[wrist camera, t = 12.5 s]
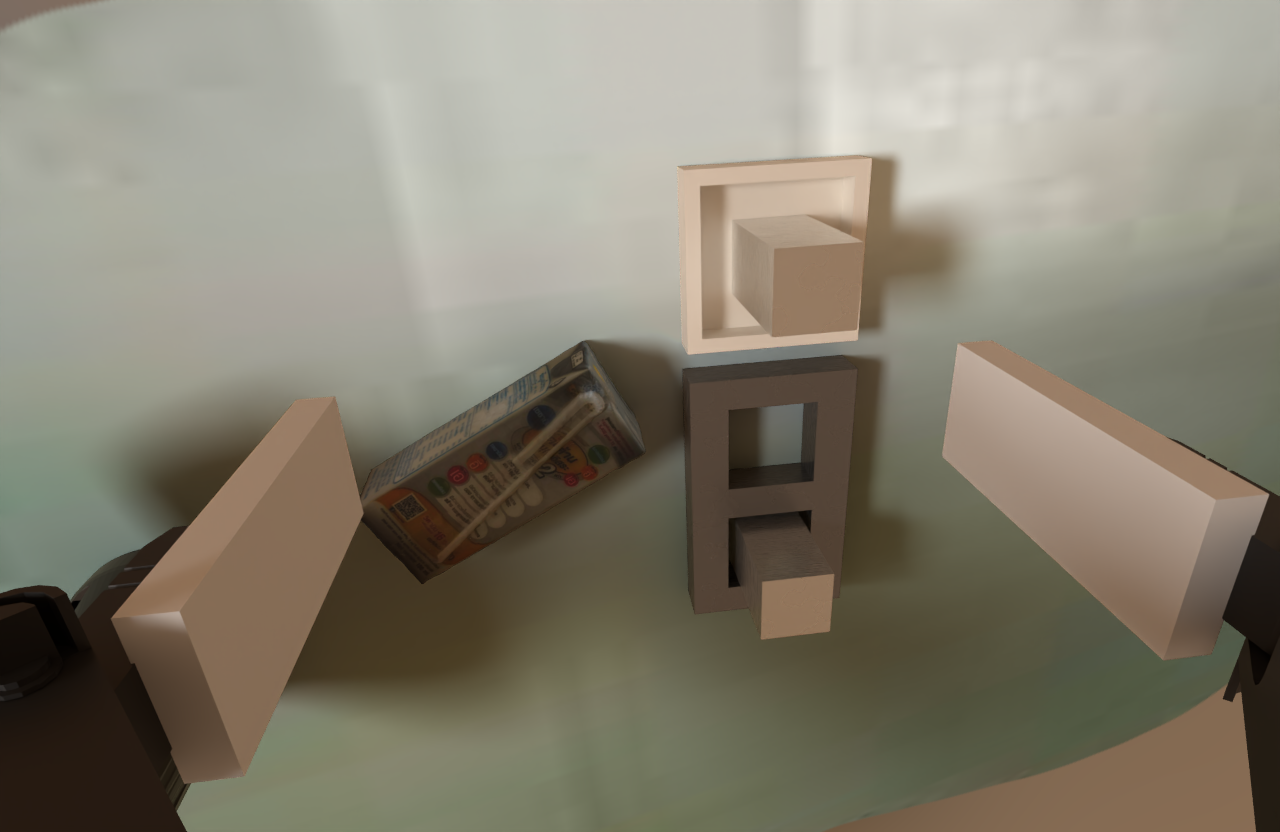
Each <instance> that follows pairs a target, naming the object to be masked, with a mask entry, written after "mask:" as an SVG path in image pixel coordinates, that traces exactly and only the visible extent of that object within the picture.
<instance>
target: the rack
mask: <svg viewBox="0 0 1280 832" xmlns="http://www.w3.org/2000/svg"><path fill="white" fill-rule="evenodd" d="M682 371H683V408H684V446H685V483H686V521H687V558H688V591H689V595H690V599H691V602H692V606H693V610H694V613H695V614H701V613H710V612H719V611H728V610H736V609H745V608H749V607H748V605H747V602H746V600H745V597H744V594H743V592H742V589H741V587H740V584H739V581H738V579H737V576H736V574H735V571H734V568H733V566H732V564H729V565H728V518H737V517H746V516H756V515H766V514H775V513H785V512H795V511H799V512H798V513H799V515H800V517H801V518H802V520H803V522H804V523H805V525H806V527H807V529H808V530H809V532H810V534H811V535H812V537H813V539H814V540H815V542H816V544H817V545H818V547H819V549H820V551H821V552H822V554H823V556H824V557H825V559H826V561H827V562H828V564H829V566H830V568H831V569H832V571H833V573H834V584H833V597H832V598H839V594H840V582H841V570H842V557H843V545H844V533H845V520H846V508H847V496H848V483H849V471H850V458H851V446H852V434H853V421H854V409H855V397H856V384H857V372H858V369H857V368H856V367H855V366H854V365H853V364H852V363H850V362H849V361H848V360H847V359H846V358H845V357H844V356H843V355H837V356H826V357H814V358H803V359H791V360H779V361H768V362H756V363H745V364H733V365H721V366H710V367H698V368H687V369H682ZM800 403H804V410H803V430H802V451H801V463H793V464H783V465H773V466H762V467H752V468H742V469H732V470H729V410H734V409H745V408H756V407H767V406H778V405H789V404H800Z"/></svg>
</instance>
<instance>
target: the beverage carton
mask: <svg viewBox="0 0 1280 832" xmlns="http://www.w3.org/2000/svg"><path fill="white" fill-rule="evenodd" d="M645 452H646V451H645V447H644V444H643V441H642V438H641V431H640V428H639V424H638V422H637V421H636V418H635V415H634V414H633V412H632V411H631V410H630V409H629V407H628V406H627V404H626V403H625V401H624V400H623V399H622V397H621V396H620V394H619V392H618V391H617V389H616V388H615V386H614V385H613V383H612V381H611V380H610V378H609V377H608V375H607V374H606V372H605V371H604V369H603V367H602V366H601V364H600V363H599V361H598V360H597V358H596V356H595V354H594V353H593V351H592V350H591V348H590V347H589V346H588V344H587V343H586V342H585V341H582V342H580V343H578V344H577V345H575V346H574V347H572V348H570V349H568V350H567V351H565V352H563V353H562V354H560V355H559V356H557V357H556V358H554V359H553V360H551V361H549V362H548V363H546V364H544V365H543V366H541V367H539V368H538V369H536V370H534V371H533V372H531V373H529V374H527V375H526V376H524V377H522V378H521V379H519V380H517V381H516V382H514V383H513V384H511V385H509V386H508V387H506V388H504V389H503V390H501V391H499V392H498V393H496V394H494V395H493V396H491V397H489V398H488V399H486V400H484V401H483V402H481V403H480V404H478V405H476V406H474V407H473V408H471V409H469V410H467V411H466V412H464V413H462V414H461V415H459V416H457V417H456V418H454V419H452V420H451V421H449V422H448V423H446V424H444V425H443V426H441V427H439V428H437V429H436V430H434V431H432V432H431V433H429V434H428V435H426V436H424V437H423V438H421V439H420V440H418V441H416V442H415V443H413V444H412V445H410V446H408V447H407V448H405V449H404V450H402V451H400V452H399V453H397V454H396V455H394V456H393V457H391V458H389V459H387V460H386V461H384V462H383V463H382V464H380V465H379V466H377V467H375V468H373V469H371V472H370V474H369V476H368V479H367V482H366V484H365V486H364V488H363V491H362V493H361V495H360V500H361V504H362V509H363V513H364V514H363V516H362V518H361V521H362V522H363V523H364V524H365V525H366V526H367V527H368V528H370V529H371V531H372V532H373V533H374V534H375V535H376V536H377V537H378V538H379V539H380V540H381V542H382V543H383V544H384V545H385V546H386V548H388V549H389V550H390V551H391V552H392V553H393V554H394V555H395V556H396V557H397V558H398V559H399V560H400V561H401V562H402V563H403V564H404V565H405V566H406V567H407V568H408V570H409V571H410V572H411V573H412V574H413V575H414V576H415V577H416V578H417V579H418V580H419V581H420V583H421V584H424V583H425V582H426V581H427V580H429V579H431V578H433V577H435V576H437V575H439V574H441V573H443V572H445V571H446V570H448V569H449V568H451V567H452V566H454V565H456V564H458V563H459V562H461V561H463V560H465V559H466V558H468V557H470V556H471V555H473V554H475V553H476V552H478V551H480V550H482V549H483V548H485V547H487V546H489V545H490V544H492V543H494V542H495V541H497V540H499V539H500V538H502V537H504V536H505V535H507V534H509V533H510V532H512V531H514V530H515V529H517V528H519V527H520V526H522V525H524V524H526V523H527V522H529V521H531V520H532V519H534V518H536V517H538V516H539V515H541V514H543V513H545V512H546V511H548V510H549V509H551V508H553V507H554V506H556V505H558V504H560V503H561V502H563V501H565V500H566V499H568V498H570V497H572V496H573V495H575V494H577V493H578V492H580V491H581V490H583V489H585V488H586V487H588V486H590V485H591V484H593V483H595V482H597V481H598V480H600V479H602V478H603V477H605V476H607V475H608V474H609V473H610V472H612V471H613V470H616V469H619V468H621V467H623V466H624V465H626V464H627V463H629V462H631V461H633V460H635V459H637V458H639V457H640V456H642V455H643V454H645Z"/></svg>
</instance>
